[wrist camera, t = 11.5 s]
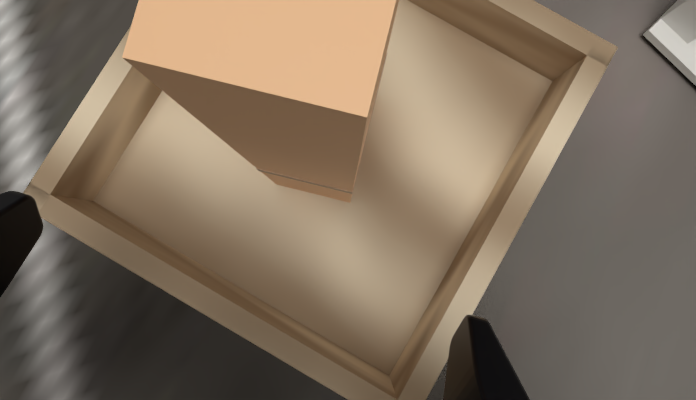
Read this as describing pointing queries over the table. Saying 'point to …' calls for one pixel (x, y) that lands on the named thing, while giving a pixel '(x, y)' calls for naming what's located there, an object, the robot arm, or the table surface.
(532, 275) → the table surface
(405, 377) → the tray
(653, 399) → the table surface
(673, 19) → the white piece
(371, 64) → the orange post
